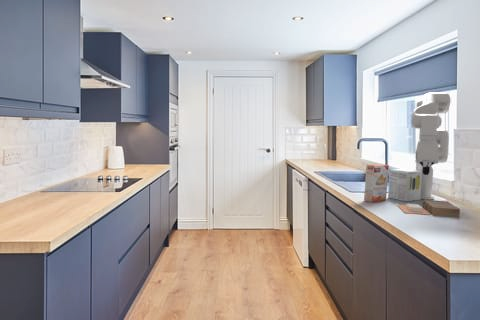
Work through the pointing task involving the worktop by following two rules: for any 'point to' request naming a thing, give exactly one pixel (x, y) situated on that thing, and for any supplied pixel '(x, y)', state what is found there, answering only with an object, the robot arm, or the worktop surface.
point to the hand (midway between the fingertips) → (425, 174)
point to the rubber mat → (405, 210)
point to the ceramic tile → (414, 207)
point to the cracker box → (376, 182)
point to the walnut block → (441, 208)
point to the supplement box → (405, 184)
